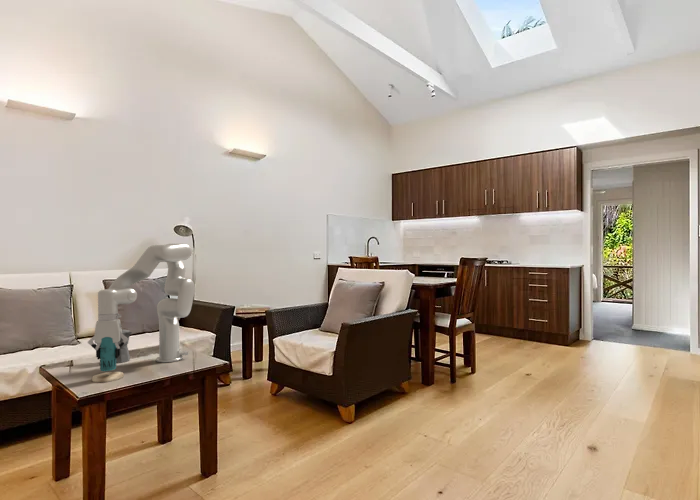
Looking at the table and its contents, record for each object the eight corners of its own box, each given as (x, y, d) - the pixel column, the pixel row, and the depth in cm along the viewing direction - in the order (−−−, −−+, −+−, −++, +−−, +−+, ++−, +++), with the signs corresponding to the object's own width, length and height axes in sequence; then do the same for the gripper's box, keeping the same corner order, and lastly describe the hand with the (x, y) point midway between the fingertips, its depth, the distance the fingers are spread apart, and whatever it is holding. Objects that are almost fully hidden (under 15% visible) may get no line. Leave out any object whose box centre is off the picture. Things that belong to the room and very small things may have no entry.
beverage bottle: (105, 370, 186) (105, 326, 186) (120, 370, 185) (119, 326, 186) (96, 374, 179) (96, 328, 179) (111, 374, 179) (111, 328, 179)
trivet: (126, 373, 190) (126, 370, 190) (120, 380, 178) (120, 377, 178) (96, 375, 186) (96, 372, 186) (88, 383, 175) (88, 380, 175)
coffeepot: (137, 358, 215) (137, 324, 216) (125, 363, 206) (125, 327, 206) (110, 358, 218) (110, 324, 218) (97, 362, 208) (97, 327, 208)
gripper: (131, 315, 189) (131, 354, 189) (88, 317, 183) (88, 357, 183) (128, 317, 181) (128, 358, 181) (82, 319, 176) (83, 361, 176)
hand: (108, 357), depth 182 cm, fingers closed on beverage bottle, 6 cm apart
